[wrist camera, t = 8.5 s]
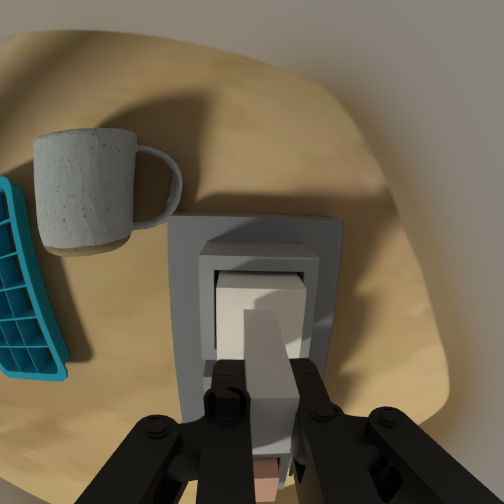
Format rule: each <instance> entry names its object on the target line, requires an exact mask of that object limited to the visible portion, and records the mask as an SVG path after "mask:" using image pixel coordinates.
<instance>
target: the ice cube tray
mask: <svg viewBox="0 0 504 504" xmlns="http://www.w3.org/2000/svg"><path fill="white" fill-rule="evenodd" d="M4 194H5V195H6V198H7V204H8V210H9V216H10V218H9V219H7V220H6V218H5V212H4V206H3V199H2V195H4ZM9 223H11V227H12V232H13V237H14V241H15V246H16V250H17V251H14V252H12V248H11V243H10V239H9V234H8V229H7V224H9ZM15 254H18V258H19V262H20V266H21V270H22V273H23V277H24V280H21V281H20V278H19V275H18V271H17V267H16V264H15V260H14V256H13V255H15ZM22 287H27V290H28V293H29V296H30V299H31V302H32V305H33V308H29V306H28V304H27V301H26V298H25V295H24V291H23V288H22ZM33 318H37V319H38V322H39V325H40V327H41V330H42V332H43V335H39V333H38V331H37V328H36V326H35V323H34V320H33ZM45 347H49V349H50V351H51V354H52V356H53V358H54V359H49V356H48V354H47V352H46V350H45ZM68 358H69V351H68V349H67V347H66V344H65V342H64V339H63V337H62V334H61V332H60V329H59V327H58V324H57V321H56V319H55V316H54V313H53V310H52V308H51V305H50V302H49V299H48V296H47V292H46V289H45V286H44V283H43V279H42V276H41V272H40V269H39V265H38V261H37V258H36V254H35V249H34V245H33V241H32V236H31V232H30V227H29V222H28V216H27V211H26V205H25V198H24V195H23V192H22V190H21V189H20V188H19V187H18V186H13V185H12V183H11V181H10V178H8V177H5V176H1V177H0V370H1V371H2V372H3V373H4V374H5V375H6V376H8V377H11V378H20V379H30V380H43V381H60V382H63V381H64V380H65V379H66V378H67V377H68V371H67V369H66V366H65V363H66V362H67V360H68Z"/></svg>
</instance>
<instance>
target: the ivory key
mask: <svg viewBox="0 0 504 504" xmlns="http://www.w3.org/2000/svg"><path fill="white" fill-rule="evenodd" d="M306 292H307V289H306V287H305V286H304V284H303V283H302V281H301V279H300V278H299V276H298V275H297V273H296V272H287V271H240V270H220V274H219V278H218V282H217V287H216V323H217V361H218V360H219V359H237V360H242V344H243V309H275V313H276V316H277V319H278V323H279V326H280V330H281V333H282V337H283V340H284V344H285V347H286V351H287V354H288V358H299V355H300V347H301V339H302V330H303V321H304V312H305V302H306Z"/></svg>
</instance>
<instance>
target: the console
mask: <svg viewBox="0 0 504 504" xmlns="http://www.w3.org/2000/svg"><path fill="white" fill-rule="evenodd" d="M343 225H344V221H342V220H339V219H336V218H333V217H326V216H307V215H285V214H258V213H221V212H175V213H173V214H171V215H168V265H169V288H170V306H171V320H172V333H173V345H174V355H175V365H176V374H177V383H178V391H179V399H180V406H181V413H182V420H183V423H188V422H192V421H195V420H197V419H200V418H201V417H202V416H204V415H205V413H204V400H203V396H204V394H205V392H206V391H207V390H208V389H210V388H211V380H212V372H213V366H214V365H215V363H216V362H217V323H216V287H217V282H218V278H219V274H220V270H240V271H287V272H296V273H297V275H298V276H299V278H300V279H301V281H302V283H303V284H304V286H305V287H306V289H307V292H306V302H305V312H304V321H303V330H302V339H301V347H300V355H299V358H309V359H310V360H311V361H312V362H313V363H314V364H316V367H317V369H318V372H319V374H320V376H321V380H322V381H323V376H324V370H325V365H326V359H327V354H328V348H329V342H330V336H331V329H332V323H333V316H334V309H335V301H336V294H337V286H338V277H339V268H340V259H341V249H342V237H343ZM292 457H293V451H292V446H291V448H290V453H276V454H253V458H277V463H278V471H279V483H278V488H277V490H278V489H283V488H284V484H285V480H286V475H287V471H288V468H290V466H291V462H292Z"/></svg>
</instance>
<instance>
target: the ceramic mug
mask: <svg viewBox="0 0 504 504" xmlns="http://www.w3.org/2000/svg"><path fill="white" fill-rule="evenodd" d="M137 152H142V153H147V154H151V155H154V156H156V157H158V158H161V159H162V160H163V161H165V162H166V163H167V164H168V165H169V167H170V168H171V173H172V179H171V189H170V194H169V197H168V199H167V200H166V204H167V208H166V210H165V211H164V212H162V213H161V214H160V215H159V216H158V217H155V218H152V219H150V220H145V221H140V222H134V221H133V200H134V195H133V184H134V174H135V159H136V153H137ZM33 154H34V187H35V198H36V211H37V222H38V229H39V233H40V236H41V240H42V243H43V246H44V247H45V249H46V250H47V251H48V252H50V253H52V254H54V255H57V256H65V257H74V256H88V255H94V254H99V253H104V252H109V251H112V250H115V249H117V248H119V247H121V246H123V245H124V244H125V243H126V242H127V241H128V239H129V238H130V235H131V231H133V230H134V229H147V228H150V227H154V226H157V225H159V224H161V223H163V222H165V221H166V220H167V219H168V215H171V214H173V213H174V212H175V210H176V209H177V207H178V205H179V202H180V200H181V196H182V190H183V178H182V173H181V171H180V169H179V167H178V165H177V163H176V162H175V161H174V160H173V159H172V158H171V157H170V156H168V155H167V154H166V153H164V152H162V151H160V150H158V149H155V148H152V147H147V146H141V145H138V144H137V136H136V134H135V133H134V132H132V131H129V130H124V129H114V128H82V129H71V130H64V131H58V132H53V133H50V134H46V135H42V136H39V137H38V138H37V139H36V140H35V141H34V144H33Z"/></svg>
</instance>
